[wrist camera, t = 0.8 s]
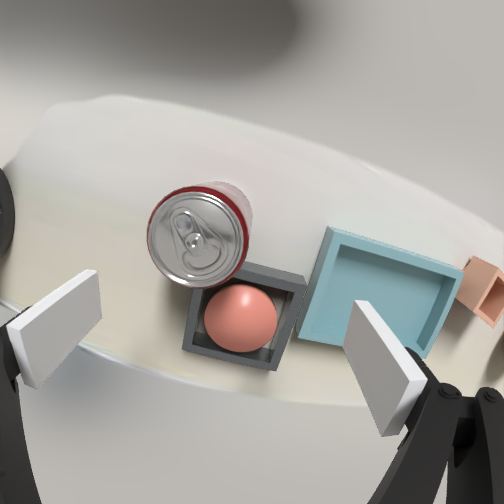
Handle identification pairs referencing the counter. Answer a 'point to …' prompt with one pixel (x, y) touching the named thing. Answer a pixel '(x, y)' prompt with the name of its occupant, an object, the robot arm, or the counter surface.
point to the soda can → (200, 234)
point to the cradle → (291, 307)
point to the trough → (376, 291)
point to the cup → (482, 290)
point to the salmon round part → (240, 318)
